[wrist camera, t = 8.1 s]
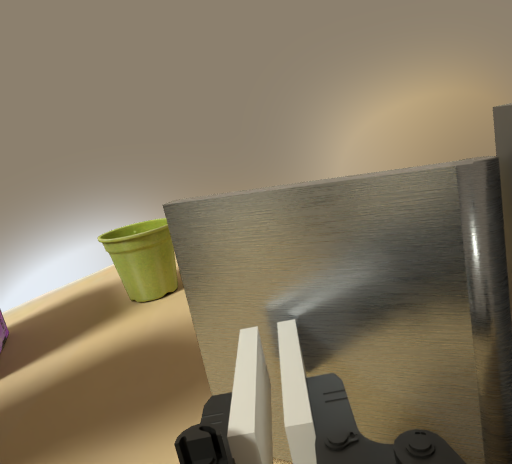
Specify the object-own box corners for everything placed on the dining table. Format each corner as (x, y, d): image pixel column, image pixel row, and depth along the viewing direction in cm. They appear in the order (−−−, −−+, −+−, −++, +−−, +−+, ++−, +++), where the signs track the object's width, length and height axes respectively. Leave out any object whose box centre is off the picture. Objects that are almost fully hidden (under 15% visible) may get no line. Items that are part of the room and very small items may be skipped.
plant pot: (125, 288, 58) (108, 228, 56) (193, 273, 59) (177, 213, 57) (109, 316, 49) (87, 245, 47) (189, 297, 50) (170, 226, 48)
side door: (522, 473, 17) (497, 151, 14) (526, 516, 15) (499, 160, 13) (240, 424, 24) (184, 196, 21) (221, 450, 22) (158, 206, 19)
